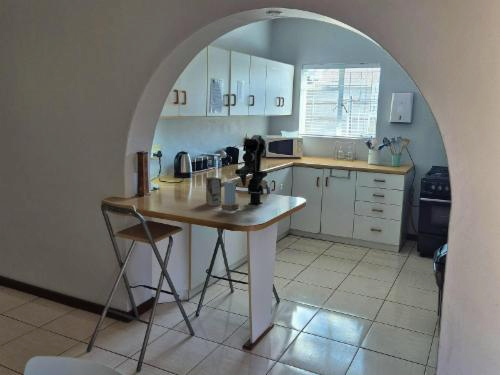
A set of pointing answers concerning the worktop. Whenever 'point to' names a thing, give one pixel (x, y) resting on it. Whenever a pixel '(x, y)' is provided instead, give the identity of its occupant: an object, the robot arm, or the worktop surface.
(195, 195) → the worktop surface
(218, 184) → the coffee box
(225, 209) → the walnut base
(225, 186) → the pillar
